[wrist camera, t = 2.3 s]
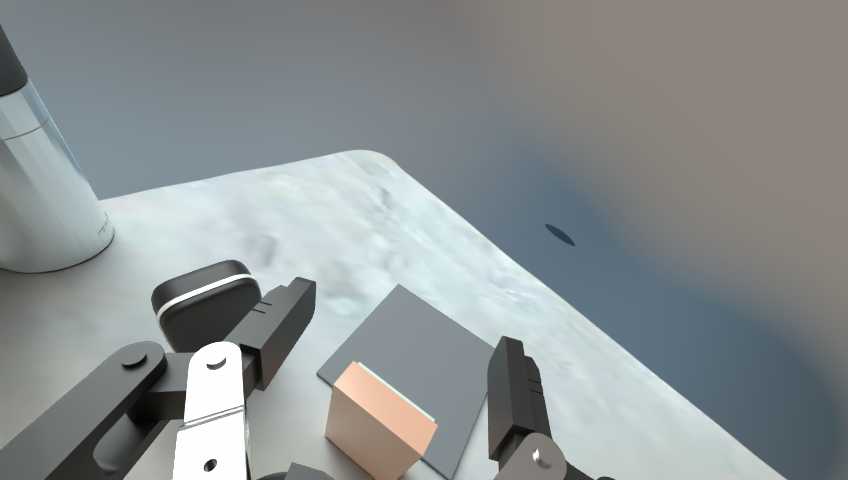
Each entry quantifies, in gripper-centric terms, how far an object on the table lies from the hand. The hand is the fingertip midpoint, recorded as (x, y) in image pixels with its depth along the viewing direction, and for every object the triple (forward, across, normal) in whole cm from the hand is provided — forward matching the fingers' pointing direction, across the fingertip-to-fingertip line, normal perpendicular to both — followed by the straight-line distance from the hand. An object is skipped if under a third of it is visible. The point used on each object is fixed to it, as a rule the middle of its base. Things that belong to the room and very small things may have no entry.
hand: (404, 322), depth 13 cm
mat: (+14, -2, +20) cm, 25 cm away
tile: (+4, +1, +22) cm, 22 cm away
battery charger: (+9, +17, +20) cm, 27 cm away
